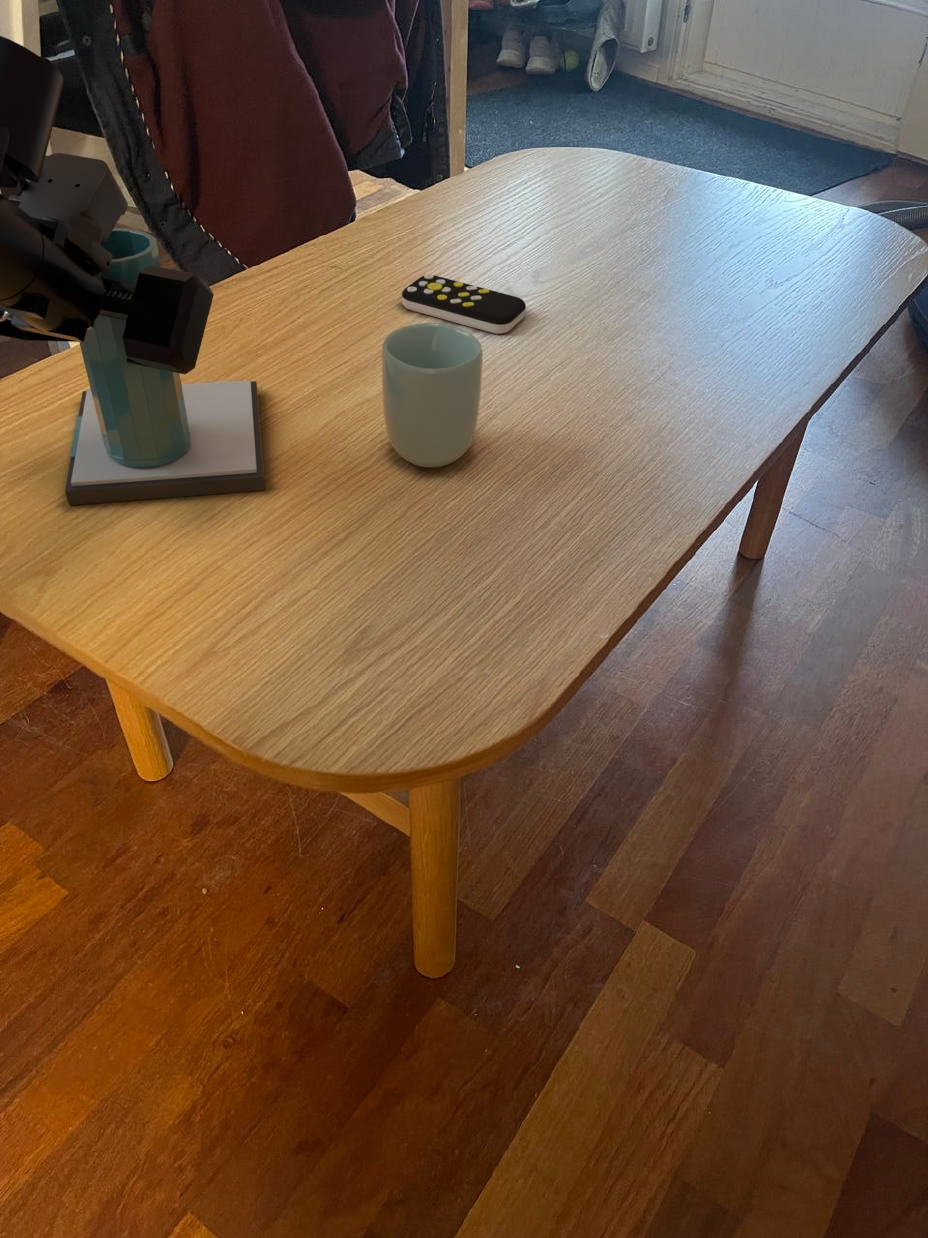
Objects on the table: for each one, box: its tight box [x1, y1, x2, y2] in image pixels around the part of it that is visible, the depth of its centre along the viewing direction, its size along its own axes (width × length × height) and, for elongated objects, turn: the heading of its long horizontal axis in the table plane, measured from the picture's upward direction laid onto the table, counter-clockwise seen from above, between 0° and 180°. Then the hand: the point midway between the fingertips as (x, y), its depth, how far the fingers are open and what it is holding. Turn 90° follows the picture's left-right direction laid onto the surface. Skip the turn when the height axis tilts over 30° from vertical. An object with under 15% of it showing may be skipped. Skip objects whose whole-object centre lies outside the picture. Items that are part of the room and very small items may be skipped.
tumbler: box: [78, 227, 191, 467], centre depth 71 cm, size 7×7×16 cm
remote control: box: [401, 273, 527, 334], centre depth 100 cm, size 6×13×2 cm, turn 63°
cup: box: [381, 322, 484, 468], centre depth 77 cm, size 8×8×10 cm
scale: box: [64, 379, 266, 506], centre depth 79 cm, size 15×15×2 cm
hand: (138, 343), depth 72 cm, fingers closed on tumbler, 7 cm apart
